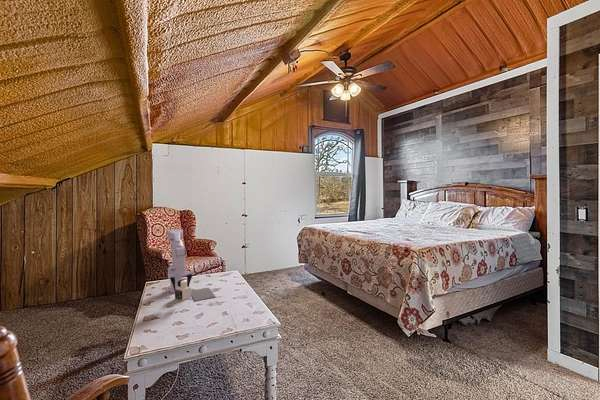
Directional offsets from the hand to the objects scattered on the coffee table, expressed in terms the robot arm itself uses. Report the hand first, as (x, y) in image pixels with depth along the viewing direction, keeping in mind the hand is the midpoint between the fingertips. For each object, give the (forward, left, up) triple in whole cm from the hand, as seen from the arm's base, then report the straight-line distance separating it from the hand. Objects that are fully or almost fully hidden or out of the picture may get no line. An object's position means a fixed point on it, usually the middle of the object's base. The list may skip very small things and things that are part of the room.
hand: (181, 288), depth 172 cm
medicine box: (-10, +2, -10) cm, 14 cm away
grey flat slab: (-10, +14, -10) cm, 20 cm away
